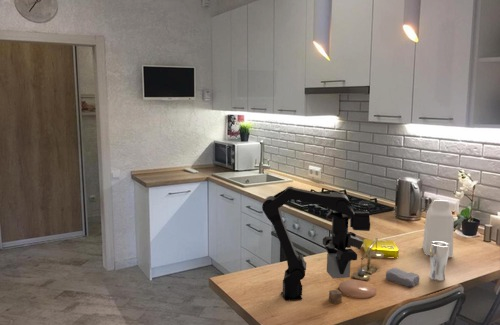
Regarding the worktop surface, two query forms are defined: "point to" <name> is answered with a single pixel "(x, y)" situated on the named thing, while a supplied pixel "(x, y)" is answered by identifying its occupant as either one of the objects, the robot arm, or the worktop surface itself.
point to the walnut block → (335, 296)
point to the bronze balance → (368, 264)
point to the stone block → (402, 277)
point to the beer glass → (438, 260)
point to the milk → (438, 226)
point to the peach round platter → (357, 289)
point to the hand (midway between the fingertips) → (338, 270)
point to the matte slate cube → (336, 267)
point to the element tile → (382, 247)
